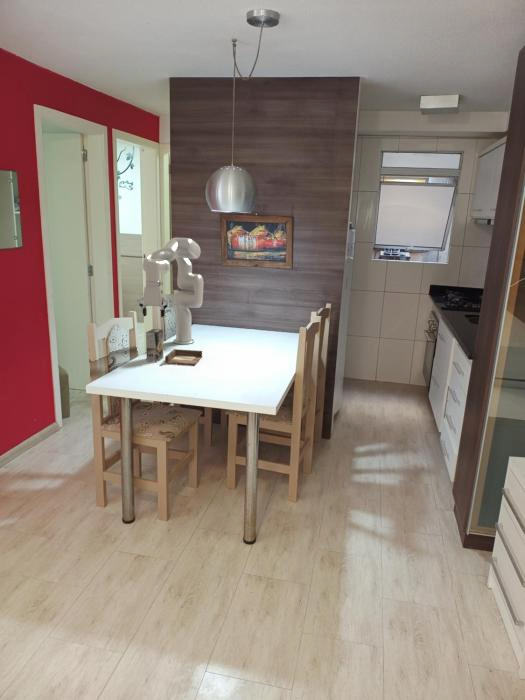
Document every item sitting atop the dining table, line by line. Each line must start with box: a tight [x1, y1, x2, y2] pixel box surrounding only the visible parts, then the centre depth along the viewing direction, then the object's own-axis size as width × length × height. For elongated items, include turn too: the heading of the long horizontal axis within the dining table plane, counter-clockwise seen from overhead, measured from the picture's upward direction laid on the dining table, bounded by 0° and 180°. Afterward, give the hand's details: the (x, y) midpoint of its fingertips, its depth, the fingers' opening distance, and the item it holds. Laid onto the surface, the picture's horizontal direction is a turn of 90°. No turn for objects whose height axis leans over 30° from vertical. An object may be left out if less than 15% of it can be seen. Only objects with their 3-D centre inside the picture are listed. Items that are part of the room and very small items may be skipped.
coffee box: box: [145, 328, 164, 363], centre depth 285 cm, size 9×6×16 cm
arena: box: [164, 348, 203, 367], centre depth 285 cm, size 16×16×4 cm
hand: (153, 316), depth 280 cm, fingers open, 9 cm apart
